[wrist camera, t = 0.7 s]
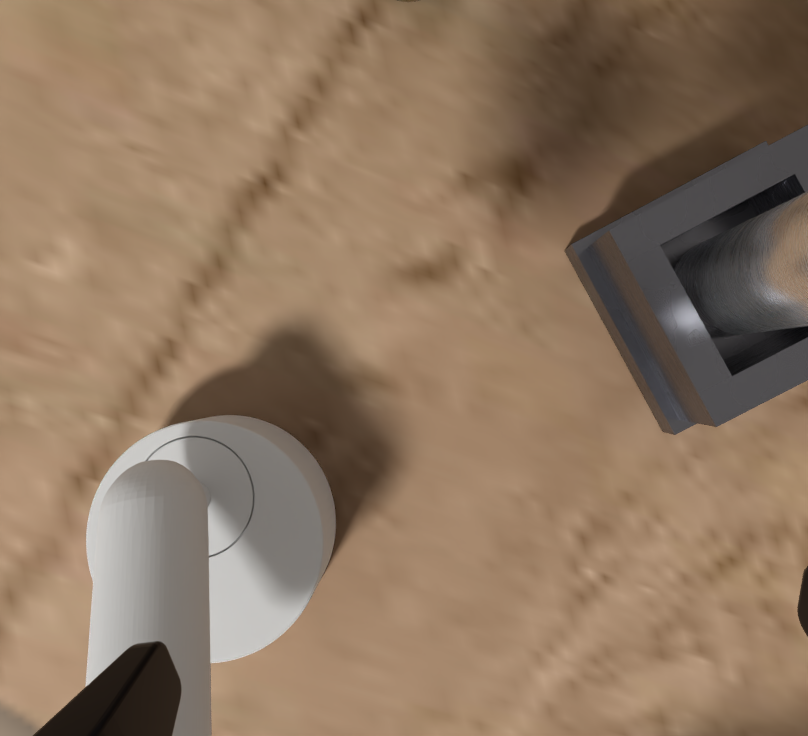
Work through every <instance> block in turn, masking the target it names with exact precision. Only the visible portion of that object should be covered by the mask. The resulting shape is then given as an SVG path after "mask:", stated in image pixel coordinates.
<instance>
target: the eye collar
mask: <svg viewBox="0 0 808 736" xmlns="http://www.w3.org/2000/svg"><path fill="white" fill-rule="evenodd" d="M807 191H808V125H806V126H804V127H803V128H801V129H799V130H797V131H795V132H793V133H791V134H789V135H788V136H786V137H784V138H782V139H780V140H778V141H776V142H774V143H772V144H771V145H768V144H767V142H766V141H765V142H763V143H761V144H759V145H757V146H755V147H753V148H752V149H750V150H748V151H746V152H744V153H742V154H740V155H738V156H737V157H735V158H733V159H731V160H729V161H727V162H725V163H723V164H722V165H720V166H718V167H716V168H714V169H712V170H710V171H708V172H706V173H705V174H703V175H701V176H699V177H697V178H695V179H693V180H691V181H690V182H688V183H686V184H684V185H682V186H680V187H678V188H676V189H674V190H673V191H671V192H669V193H667V194H665V195H663V196H661V197H659V198H658V199H656V200H654V201H652V202H650V203H648V204H646V205H644V206H643V207H641V208H639V209H637V210H635V211H633V212H631V213H629V214H627V215H626V216H624V217H622V218H620V219H618V220H616V221H614V222H612V223H611V224H609V225H607V226H605V227H603V228H601V229H599V230H597V231H595V232H594V233H592V234H590V235H588V236H586V237H584V238H582V239H580V240H579V241H577V242H575V243H573V244H571V245H570V246H569V247H568V248H567V249H566V250H565V253H566V254H567V256H568V258H569V260H570V262H571V264H572V265H573V267H574V269H575V271H576V273H577V275H578V276H579V278H580V280H581V282H582V284H583V286H584V288H585V289H586V291H587V293H588V295H589V297H590V299H591V300H592V302H593V304H594V306H595V308H596V310H597V311H598V313H599V315H600V317H601V319H602V321H603V323H604V324H605V326H606V328H607V330H608V332H609V334H610V335H611V337H612V339H613V341H614V343H615V345H616V346H617V348H618V350H619V352H620V354H621V356H622V358H623V359H624V361H625V363H626V365H627V367H628V369H629V370H630V372H631V374H632V376H633V378H634V380H635V381H636V383H637V385H638V387H639V389H640V391H641V393H642V394H643V396H644V398H645V400H646V402H647V404H648V405H649V407H650V409H651V411H652V413H653V415H654V416H655V418H656V420H657V422H658V424H659V426H660V427H661V429H662V431H663V432H666V433H670V434H674V435H675V434H677V433H679V432H681V431H683V430H685V429H687V428H689V427H691V426H693V425H695V424H697V423H698V424H704V425H709V426H715V427H717V426H719V425H721V424H723V423H725V422H727V421H729V420H731V419H733V418H735V417H737V416H739V415H741V414H743V413H745V412H746V411H748V410H750V409H752V408H754V407H756V406H758V405H760V404H762V403H764V402H766V401H768V400H770V399H772V398H774V397H776V396H778V395H780V394H782V393H784V392H785V391H787V390H789V389H791V388H793V387H795V386H797V385H799V384H801V383H803V382H805V381H807V380H808V326H803V327H795V328H788V329H780V330H772V331H765V332H757V333H749V334H741V335H734V336H726V337H716V336H710V335H709V333H708V331H707V330H706V328H705V326H704V324H703V322H702V321H701V319H700V317H699V315H698V313H697V311H696V310H695V308H694V306H693V304H692V302H691V301H690V299H689V297H688V295H687V293H686V291H685V290H684V288H683V286H682V284H681V282H680V281H679V279H678V277H677V275H676V273H675V271H674V269H675V267H676V265H677V263H678V262H679V260H680V259H681V257H682V256H683V255H684V254H685V253H686V252H687V251H689V250H690V249H691V248H693V247H694V246H696V245H698V244H700V243H702V242H704V241H706V240H708V239H710V238H712V237H714V236H716V235H718V234H721V233H723V232H725V231H727V230H729V229H731V228H733V227H735V226H737V225H739V224H741V223H743V222H745V221H747V220H749V219H751V218H754V217H756V216H758V215H760V214H762V213H764V212H766V211H768V210H770V209H772V208H774V207H776V206H778V205H780V204H782V203H785V202H787V201H789V200H791V199H793V198H795V197H797V196H799V195H801V194H803V193H805V192H807Z"/></svg>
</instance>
